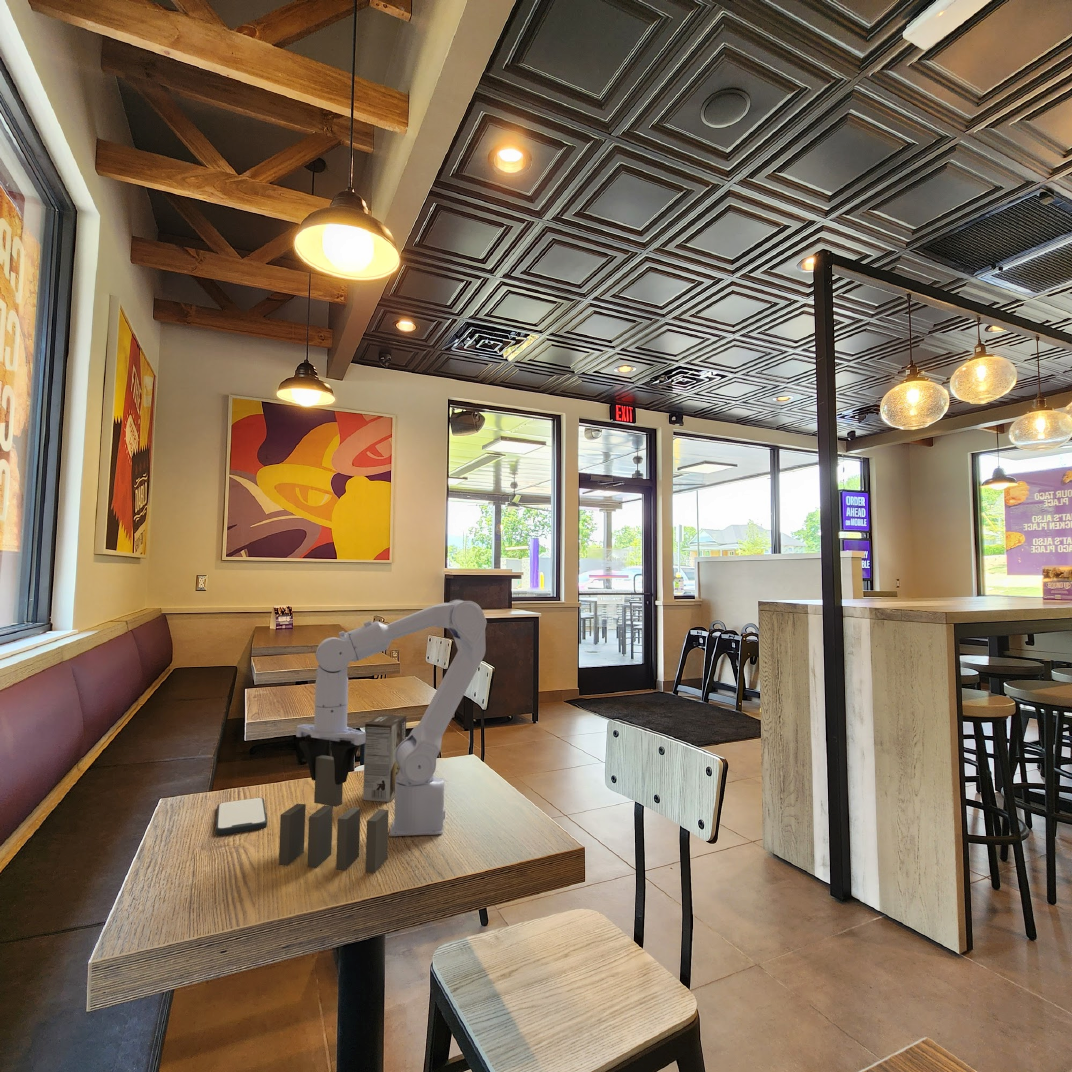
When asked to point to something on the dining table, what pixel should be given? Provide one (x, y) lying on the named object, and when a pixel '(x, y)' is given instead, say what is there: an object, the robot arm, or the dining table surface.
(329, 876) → the dining table surface
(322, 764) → the end domino
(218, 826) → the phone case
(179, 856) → the dining table surface
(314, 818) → the domino
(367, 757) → the coffee box
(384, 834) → the domino
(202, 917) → the dining table surface
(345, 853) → the domino
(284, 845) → the domino
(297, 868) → the dining table surface
